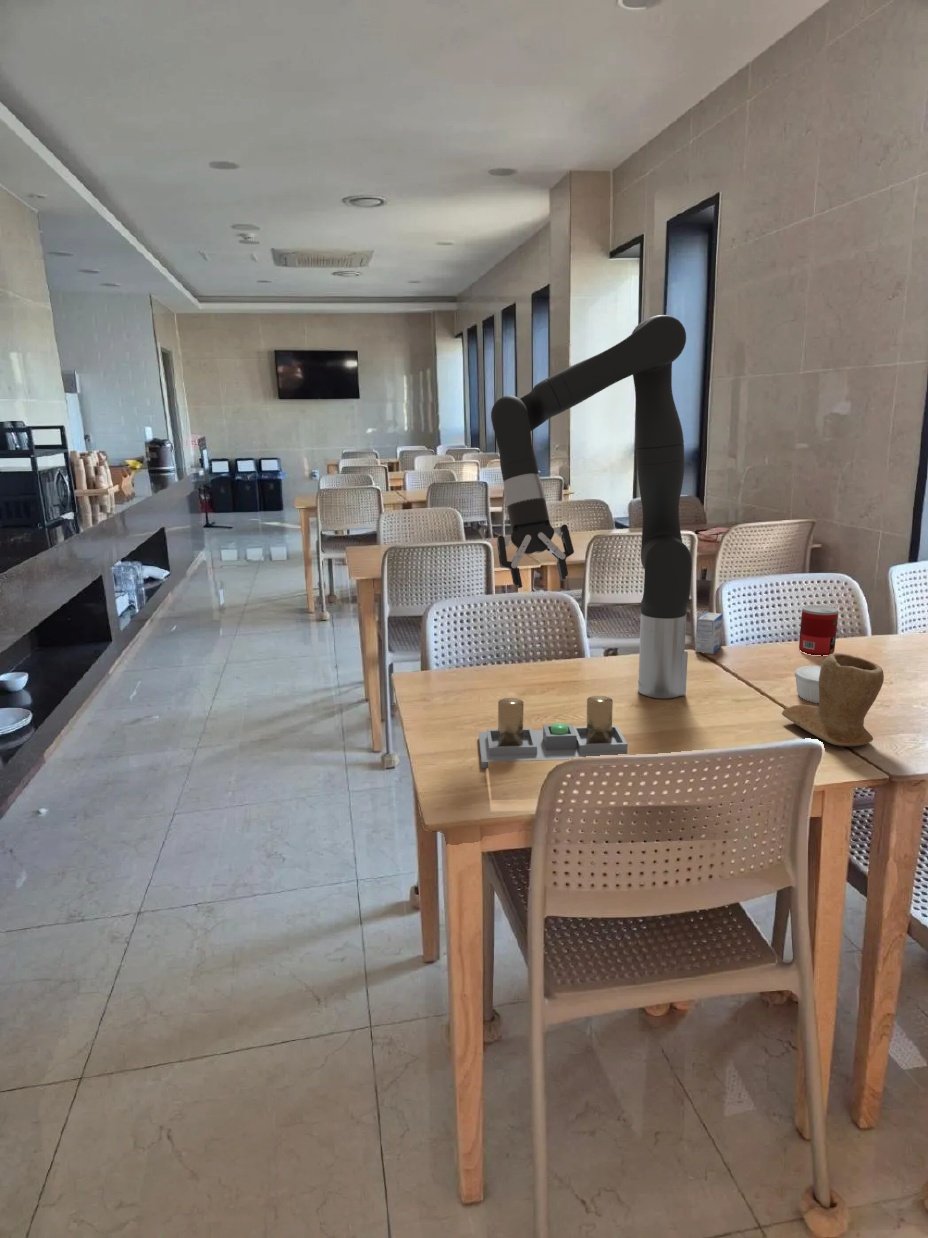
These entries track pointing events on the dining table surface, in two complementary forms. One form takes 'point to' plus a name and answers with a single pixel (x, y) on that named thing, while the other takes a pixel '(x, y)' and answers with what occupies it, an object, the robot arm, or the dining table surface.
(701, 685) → the dining table surface
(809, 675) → the ramekin
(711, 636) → the medicine box
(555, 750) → the grey socket tray
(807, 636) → the canned food
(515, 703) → the cylinder
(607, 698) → the seated billet
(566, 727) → the button
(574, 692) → the dining table surface
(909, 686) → the dining table surface
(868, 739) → the tan hollow curved piece
